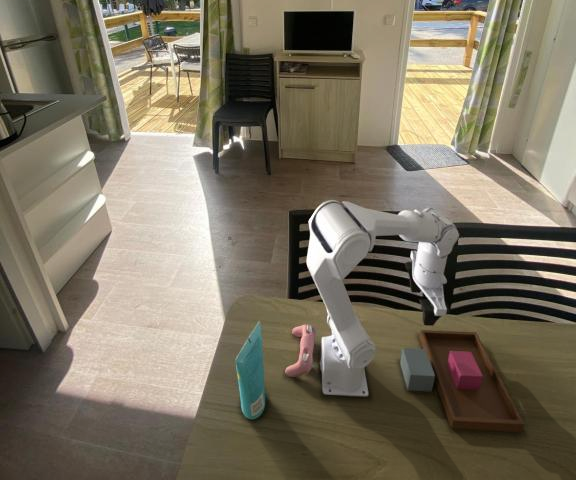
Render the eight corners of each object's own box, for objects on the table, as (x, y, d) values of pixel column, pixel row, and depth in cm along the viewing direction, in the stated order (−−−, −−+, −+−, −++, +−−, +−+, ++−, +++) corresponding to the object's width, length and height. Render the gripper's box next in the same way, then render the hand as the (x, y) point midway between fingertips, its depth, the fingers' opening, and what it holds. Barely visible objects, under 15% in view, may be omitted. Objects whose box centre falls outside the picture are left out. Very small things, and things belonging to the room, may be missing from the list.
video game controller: (301, 386, 64) (316, 371, 62) (282, 376, 64) (297, 360, 62) (307, 338, 73) (320, 323, 71) (291, 328, 73) (304, 313, 71)
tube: (252, 378, 64) (248, 315, 58) (272, 389, 62) (270, 325, 56) (232, 420, 58) (226, 354, 52) (254, 434, 56) (249, 368, 50)
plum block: (456, 389, 62) (460, 375, 61) (446, 364, 66) (450, 350, 65) (478, 390, 62) (483, 376, 60) (467, 365, 66) (471, 351, 65)
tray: (451, 428, 57) (453, 420, 56) (419, 337, 72) (420, 329, 71) (521, 432, 56) (524, 424, 55) (474, 339, 72) (476, 332, 71)
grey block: (407, 390, 62) (410, 375, 61) (399, 362, 67) (402, 347, 66) (431, 391, 62) (435, 376, 61) (422, 363, 67) (425, 348, 65)
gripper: (466, 293, 58) (454, 341, 62) (434, 237, 71) (426, 279, 76) (430, 292, 58) (420, 340, 62) (405, 236, 72) (398, 278, 76)
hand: (421, 306), depth 69 cm, fingers open, 7 cm apart
